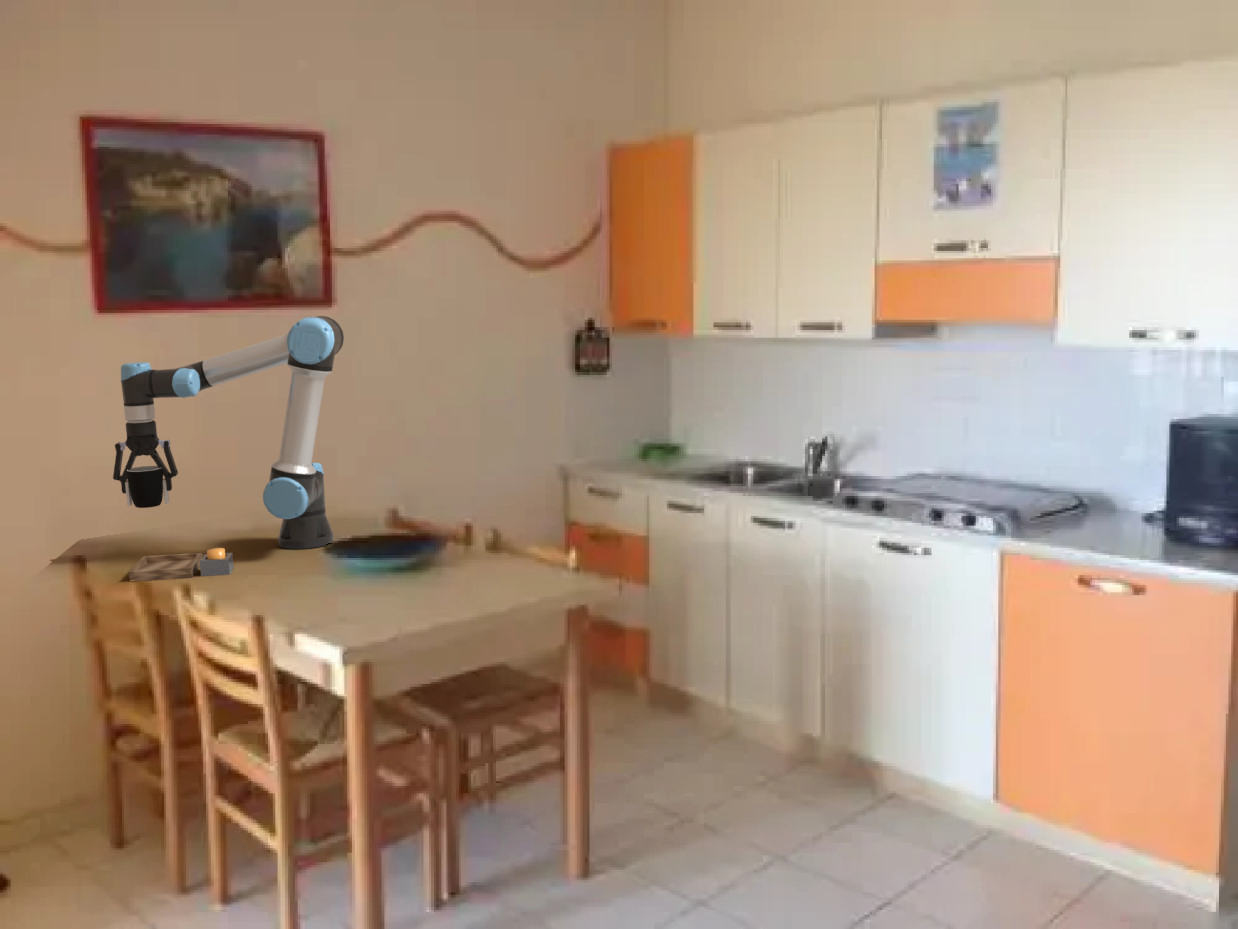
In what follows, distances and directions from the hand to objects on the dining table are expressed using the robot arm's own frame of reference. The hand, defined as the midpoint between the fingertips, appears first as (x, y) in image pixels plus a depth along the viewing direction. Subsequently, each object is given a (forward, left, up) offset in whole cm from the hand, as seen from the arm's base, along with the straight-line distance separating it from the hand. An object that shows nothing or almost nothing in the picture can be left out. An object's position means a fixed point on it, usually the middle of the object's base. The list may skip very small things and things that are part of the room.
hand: (148, 503), depth 325 cm
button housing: (-20, +21, -15) cm, 33 cm away
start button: (-20, +21, -14) cm, 32 cm away
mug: (+1, 0, -1) cm, 1 cm away
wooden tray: (-7, +17, -15) cm, 24 cm away
